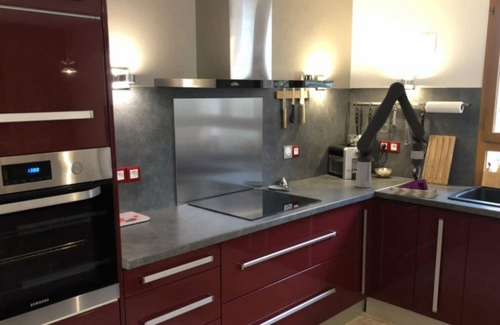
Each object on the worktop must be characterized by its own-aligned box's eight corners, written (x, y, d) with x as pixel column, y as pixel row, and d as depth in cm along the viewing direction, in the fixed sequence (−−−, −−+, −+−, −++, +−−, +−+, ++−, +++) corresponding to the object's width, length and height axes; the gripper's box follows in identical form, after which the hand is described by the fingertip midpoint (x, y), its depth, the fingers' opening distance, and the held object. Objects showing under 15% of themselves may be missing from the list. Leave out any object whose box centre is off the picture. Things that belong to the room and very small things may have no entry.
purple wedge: (398, 200, 291) (417, 193, 275) (394, 187, 293) (413, 180, 277) (409, 198, 294) (429, 191, 279) (405, 186, 297) (425, 179, 281)
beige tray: (390, 193, 282) (390, 187, 282) (396, 189, 294) (396, 183, 294) (432, 198, 269) (433, 191, 269) (436, 193, 281) (437, 187, 281)
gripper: (413, 156, 298) (412, 181, 300) (408, 158, 287) (407, 185, 289) (425, 156, 294) (424, 182, 297) (421, 159, 283) (419, 186, 285)
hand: (416, 183), depth 293 cm, fingers closed
